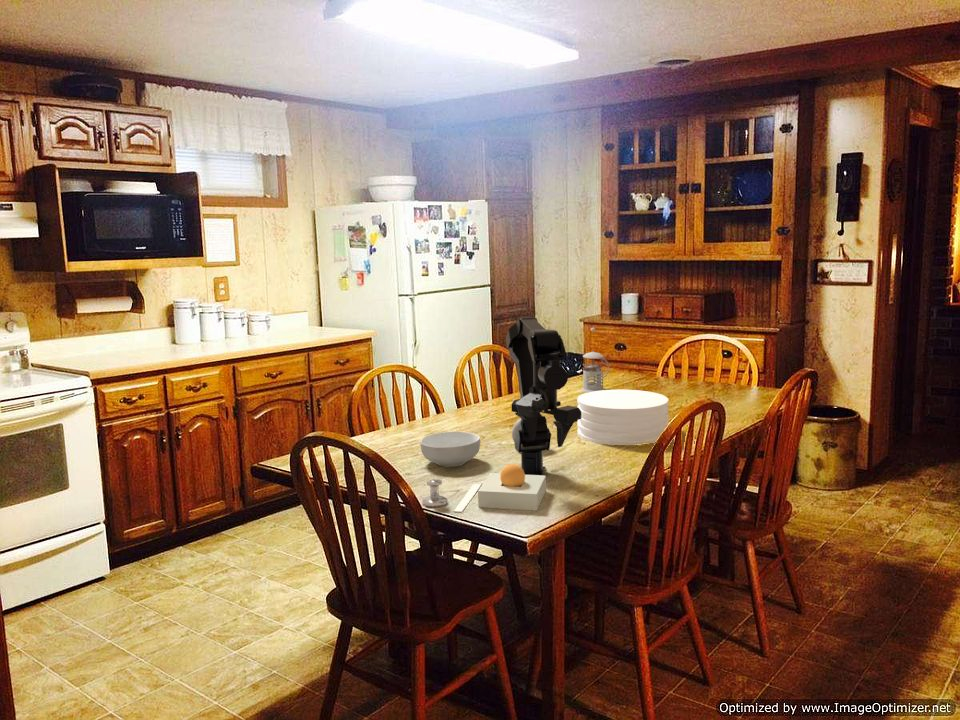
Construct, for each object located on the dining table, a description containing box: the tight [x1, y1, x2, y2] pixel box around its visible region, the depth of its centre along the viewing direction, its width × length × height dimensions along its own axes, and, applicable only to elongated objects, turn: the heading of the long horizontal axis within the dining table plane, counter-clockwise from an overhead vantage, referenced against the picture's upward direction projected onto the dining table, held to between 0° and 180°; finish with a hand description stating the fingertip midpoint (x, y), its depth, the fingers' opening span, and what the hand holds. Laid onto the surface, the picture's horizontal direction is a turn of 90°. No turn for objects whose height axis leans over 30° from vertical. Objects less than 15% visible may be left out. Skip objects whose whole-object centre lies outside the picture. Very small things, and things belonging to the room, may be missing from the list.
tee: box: [421, 478, 448, 508], centre depth 193 cm, size 6×6×6 cm
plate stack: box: [576, 389, 670, 446], centre depth 252 cm, size 28×28×12 cm
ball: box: [500, 463, 525, 487], centre depth 194 cm, size 6×6×6 cm
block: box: [477, 472, 547, 511], centre depth 195 cm, size 14×14×4 cm
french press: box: [580, 327, 610, 393], centre depth 317 cm, size 10×12×25 cm
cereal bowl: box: [420, 431, 481, 468], centre depth 226 cm, size 17×17×7 cm
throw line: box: [453, 483, 482, 513], centre depth 197 cm, size 20×2×1 cm, turn 167°
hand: (545, 443), depth 199 cm, fingers open, 9 cm apart
